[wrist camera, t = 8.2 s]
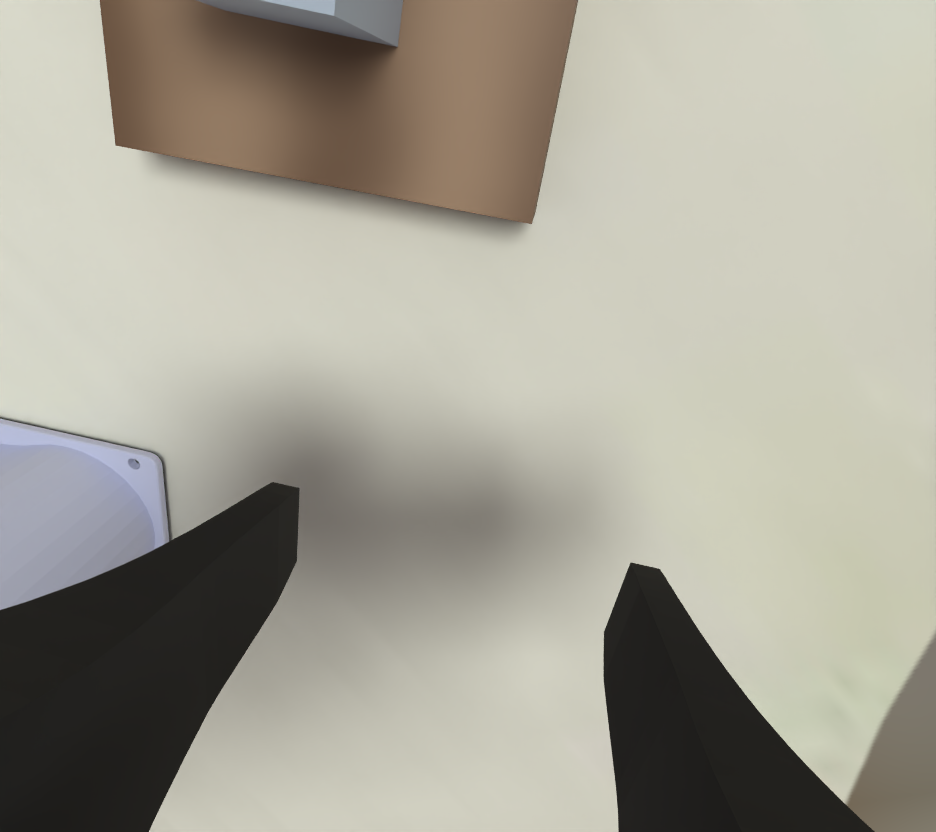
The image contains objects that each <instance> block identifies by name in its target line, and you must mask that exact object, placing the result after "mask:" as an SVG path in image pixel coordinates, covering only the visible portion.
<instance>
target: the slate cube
mask: <svg viewBox="0 0 936 832" xmlns="http://www.w3.org/2000/svg"><path fill="white" fill-rule="evenodd" d="M196 1H199V2H202V3H205V4H208V5H211V6H213V7H216V8H219V9H222V10H225V11H230V12H234V13H239V14H244V15H248V16H253V17H258V18H263V19H267V20H272V21H277V22H281V23H286V24H291V25H296V26H300V27H305V28H310V29H314V30H319V31H324V32H329V33H333V34H338V35H343V36H348V37H352V38H357V39H362V40H366V41H371V42H376V43H381V44H385V45H390V46H395V47H398V40H399V31H400V23H401V14H402V5H403V0H196Z"/></svg>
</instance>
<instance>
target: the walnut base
mask: <svg viewBox="0 0 936 832" xmlns="http://www.w3.org/2000/svg"><path fill="white" fill-rule="evenodd" d="M577 4H578V0H403V5H402V14H401V23H400V31H399V40H398V47H395V46H390V45H385V44H381V43H376V42H371V41H366V40H362V39H357V38H352V37H348V36H343V35H338V34H333V33H329V32H324V31H319V30H314V29H310V28H305V27H300V26H296V25H291V24H286V23H281V22H277V21H272V20H267V19H263V18H258V17H253V16H248V15H244V14H239V13H234V12H230V11H225V10H222V9H219V8H216V7H213V6H211V5H208V4H205V3H202V2H199V1H196V0H100V7H101V16H102V25H103V34H104V43H105V53H106V62H107V71H108V80H109V89H110V98H111V107H112V117H113V126H114V135H115V144H116V146H122V147H127V148H132V149H137V150H143V151H148V152H153V153H159V154H164V155H169V156H174V157H180V158H185V159H190V160H196V161H201V162H206V163H212V164H217V165H222V166H227V167H233V168H238V169H243V170H249V171H254V172H259V173H264V174H270V175H275V176H280V177H286V178H291V179H296V180H301V181H307V182H312V183H317V184H323V185H328V186H333V187H339V188H344V189H349V190H354V191H360V192H365V193H370V194H376V195H381V196H386V197H391V198H397V199H402V200H407V201H413V202H418V203H423V204H429V205H434V206H439V207H444V208H450V209H455V210H460V211H466V212H471V213H476V214H481V215H487V216H492V217H497V218H503V219H508V220H513V221H518V222H524V223H529V224H532V221H533V218H534V215H535V212H536V207H537V202H538V197H539V192H540V187H541V182H542V177H543V172H544V167H545V162H546V157H547V152H548V147H549V142H550V137H551V132H552V127H553V122H554V117H555V113H556V108H557V103H558V98H559V93H560V88H561V83H562V78H563V73H564V68H565V63H566V58H567V53H568V48H569V43H570V38H571V33H572V28H573V23H574V18H575V14H576V9H577Z"/></svg>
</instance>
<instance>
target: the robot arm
mask: <svg viewBox="0 0 936 832" xmlns="http://www.w3.org/2000/svg"><path fill="white" fill-rule="evenodd" d="M135 459H136V460H137V461H138V462H139V463H137V462H136V461H135ZM298 512H299V488H296V487H292V486H287V485H283V484H278V483H274V482H272V483H270V484H268V485H267V486H265V487H263V488H261V489H260V490H258V491H256V492H255V493H253V494H251V495H250V496H248V497H246V498H245V499H243V500H241V501H240V502H238V503H237V504H235V505H233V506H232V507H230V508H228V509H227V510H225V511H223V512H222V513H220V514H218V515H216V516H215V517H213V518H211V519H210V520H208V521H206V522H204V523H203V524H201V525H199V526H197V527H196V528H194V529H192V530H190V531H189V532H187V533H185V534H183V535H181V536H179V537H177V538H175V539H173V540H171V541H169V532H168V521H167V511H166V500H165V489H164V479H163V468H162V463H161V460H160V459H159V457H158V456H156V455H155V454H153V453H151V452H147V451H143V450H138V449H134V448H129V447H125V446H120V445H116V444H111V443H107V442H102V441H98V440H94V439H89V438H85V437H80V436H76V435H71V434H67V433H62V432H58V431H53V430H49V429H44V428H40V427H36V426H31V425H27V424H22V423H18V422H13V421H9V420H4V419H0V832H149V830H150V828H151V826H152V823H153V821H154V819H155V817H156V815H157V813H158V811H159V809H160V806H161V804H162V802H163V800H164V798H165V796H166V794H167V792H168V790H169V788H170V786H171V784H172V782H173V780H174V778H175V776H176V774H177V772H178V770H179V768H180V766H181V764H182V762H183V760H184V758H185V756H186V754H187V752H188V750H189V748H190V746H191V744H192V742H193V740H194V738H195V736H196V734H197V732H198V731H199V729H200V727H201V725H202V723H203V721H204V719H205V717H206V715H207V713H208V711H209V710H210V708H211V706H212V704H213V703H214V701H215V699H216V698H217V696H218V694H219V693H220V691H221V689H222V688H223V686H224V685H225V683H226V682H227V680H228V678H229V677H230V675H231V674H232V672H233V671H234V669H235V668H236V666H237V664H238V663H239V661H240V660H241V658H242V657H243V655H244V654H245V652H246V650H247V649H248V647H249V646H250V644H251V643H252V641H253V640H254V638H255V636H256V635H257V633H258V632H259V630H260V629H261V627H262V625H263V624H264V622H265V621H266V619H267V617H268V616H269V614H270V613H271V611H272V610H273V608H274V606H275V605H276V603H277V601H278V599H279V597H280V595H281V593H282V591H283V589H284V587H285V585H286V583H287V581H288V579H289V576H290V574H291V572H292V570H293V568H294V566H295V563H296V561H297V539H298ZM604 686H605V696H606V705H607V714H608V722H609V731H610V739H611V748H612V756H613V765H614V773H615V782H616V791H617V804H618V824H619V832H874V831H873V830H872V829H871V828H870V827H869V826H868V825H867V824H865V823H864V822H863V821H862V820H861V819H860V818H859V817H858V816H857V815H856V814H855V813H854V812H853V811H852V810H851V809H850V808H849V807H848V806H847V805H845V804H844V803H843V802H842V801H841V800H840V799H839V798H838V797H837V796H836V795H835V794H834V793H833V792H832V791H831V790H830V789H829V788H828V787H827V786H826V785H825V784H824V783H823V782H822V781H821V780H820V778H819V777H818V776H817V775H816V774H815V773H814V772H813V771H812V770H811V769H810V768H809V767H808V766H807V765H806V764H805V763H804V762H803V761H802V760H801V759H800V758H799V757H798V756H797V755H796V753H795V752H794V751H793V750H792V749H791V748H790V747H789V746H788V745H787V744H786V742H785V741H784V740H783V739H782V738H781V737H780V735H779V734H778V733H777V732H776V731H775V730H774V729H773V727H772V726H771V725H770V724H769V723H768V722H767V721H766V719H765V718H764V717H763V716H762V715H761V714H760V712H759V711H758V710H757V709H756V707H755V706H754V705H753V704H752V703H751V701H750V700H749V699H748V697H747V696H746V695H745V694H744V692H743V691H742V690H741V688H740V687H739V686H738V684H737V683H736V682H735V680H734V679H733V678H732V677H731V675H730V674H729V673H728V671H727V670H726V669H725V667H724V666H723V664H722V663H721V662H720V660H719V659H718V657H717V656H716V655H715V653H714V652H713V650H712V649H711V647H710V646H709V644H708V643H707V642H706V640H705V639H704V637H703V636H702V634H701V633H700V631H699V630H698V628H697V627H696V625H695V624H694V622H693V621H692V619H691V617H690V616H689V614H688V613H687V611H686V610H685V608H684V606H683V605H682V603H681V602H680V600H679V599H678V597H677V595H676V594H675V592H674V591H673V589H672V587H671V586H670V584H669V583H668V581H667V580H666V578H665V576H664V575H663V573H662V572H661V570H660V569H657V568H653V567H648V566H644V565H639V564H635V563H630V566H629V568H628V571H627V573H626V576H625V579H624V581H623V584H622V586H621V589H620V592H619V594H618V597H617V600H616V602H615V605H614V607H613V610H612V613H611V615H610V618H609V620H608V623H607V626H606V628H605V631H604Z"/></svg>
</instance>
